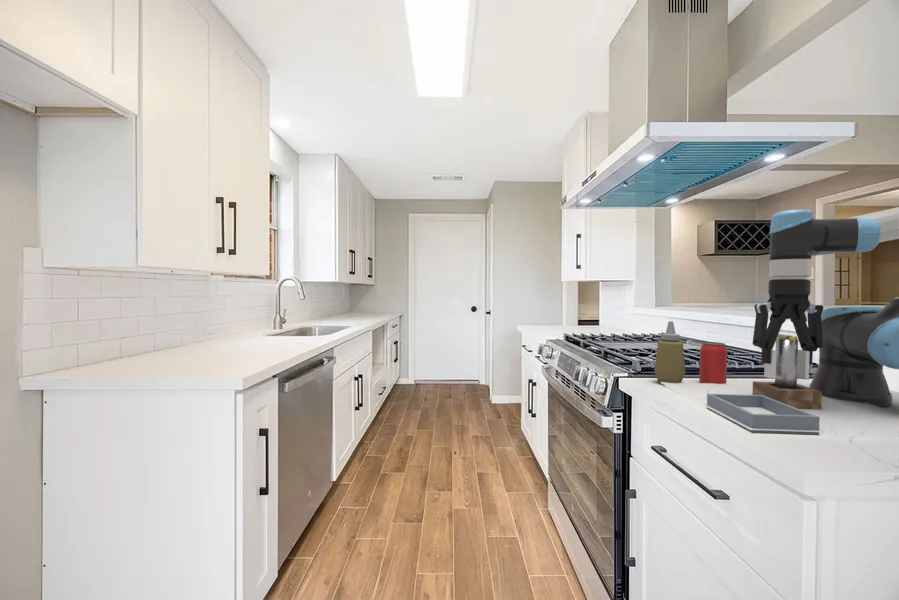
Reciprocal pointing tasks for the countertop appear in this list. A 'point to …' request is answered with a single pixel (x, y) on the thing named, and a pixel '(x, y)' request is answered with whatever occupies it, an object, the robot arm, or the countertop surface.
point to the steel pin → (786, 361)
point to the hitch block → (790, 395)
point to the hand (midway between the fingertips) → (786, 377)
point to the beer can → (713, 363)
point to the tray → (784, 419)
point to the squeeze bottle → (670, 357)
